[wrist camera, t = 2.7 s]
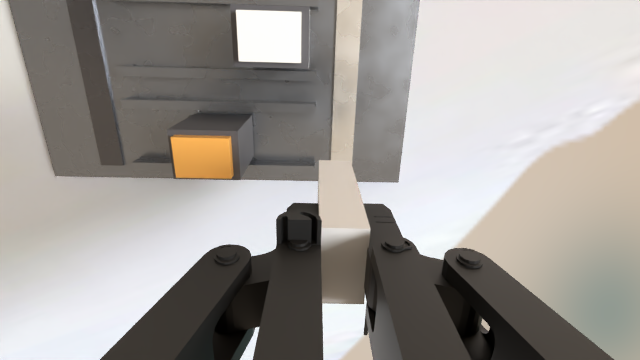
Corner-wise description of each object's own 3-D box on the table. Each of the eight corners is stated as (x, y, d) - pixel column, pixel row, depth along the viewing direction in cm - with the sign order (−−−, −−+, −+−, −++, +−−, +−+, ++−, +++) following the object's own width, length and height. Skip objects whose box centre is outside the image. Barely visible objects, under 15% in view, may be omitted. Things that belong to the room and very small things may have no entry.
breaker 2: (249, 62, 23) (231, 67, 18) (247, 13, 22) (227, 2, 17) (309, 64, 23) (308, 69, 18) (310, 15, 22) (309, 5, 17)
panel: (64, 171, 27) (43, 181, 25) (-21, -159, 20) (-60, -183, 18) (395, 177, 28) (402, 188, 25) (431, -139, 20) (444, -160, 18)
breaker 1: (199, 154, 25) (169, 182, 20) (195, 113, 24) (162, 131, 19) (253, 155, 25) (238, 183, 20) (252, 114, 24) (235, 133, 19)
